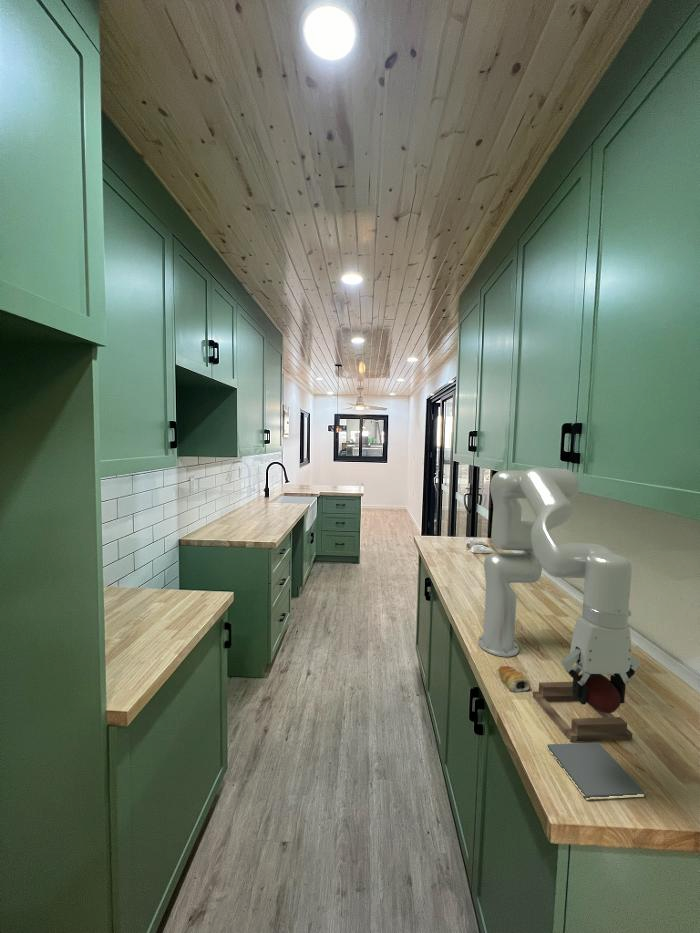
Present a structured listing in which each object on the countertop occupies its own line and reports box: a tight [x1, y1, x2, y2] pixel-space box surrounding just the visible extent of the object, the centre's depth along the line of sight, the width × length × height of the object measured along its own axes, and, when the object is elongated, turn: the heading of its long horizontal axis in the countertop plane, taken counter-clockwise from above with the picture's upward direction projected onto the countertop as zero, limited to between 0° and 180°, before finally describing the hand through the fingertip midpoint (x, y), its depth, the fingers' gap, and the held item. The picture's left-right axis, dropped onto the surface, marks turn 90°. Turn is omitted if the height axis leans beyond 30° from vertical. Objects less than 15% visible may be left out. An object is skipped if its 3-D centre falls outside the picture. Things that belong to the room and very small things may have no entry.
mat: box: [547, 741, 646, 798], centre depth 77 cm, size 12×12×1 cm
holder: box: [532, 681, 634, 743], centre depth 93 cm, size 15×15×4 cm
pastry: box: [498, 665, 531, 693], centre depth 106 cm, size 9×7×4 cm
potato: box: [578, 673, 622, 714], centre depth 76 cm, size 8×9×6 cm
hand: (597, 698), depth 76 cm, fingers closed on potato, 7 cm apart
